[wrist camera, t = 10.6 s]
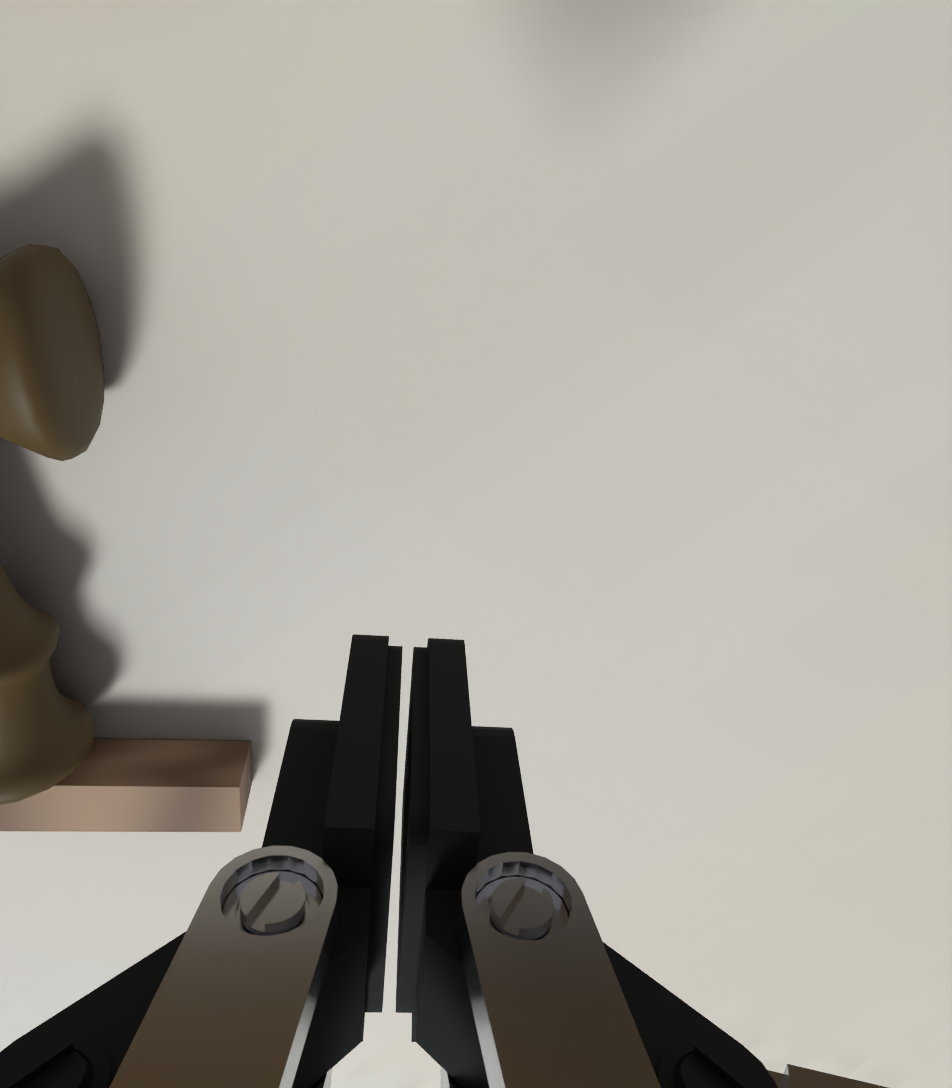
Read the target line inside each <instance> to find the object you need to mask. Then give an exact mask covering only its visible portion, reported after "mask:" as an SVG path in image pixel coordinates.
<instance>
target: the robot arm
mask: <svg viewBox="0 0 952 1088" xmlns="http://www.w3.org/2000/svg"><path fill="white" fill-rule="evenodd" d="M388 642H389V636H373V635H353V636H352V642H351V649H350V656H349V662H348V669H347V675H346V682H345V689H344V695H343V702H342V709H341V715H340V721H328V720H304V719H294V720H293V721H292V724H291V727H290V731H289V736H288V740H287V744H286V748H285V752H284V757H283V761H282V765H281V769H280V774H279V778H278V782H277V786H276V791H275V795H274V799H273V803H272V807H271V812H270V816H269V820H268V824H267V829H266V833H265V837H264V841H263V846H262V848H259V849H254V850H251V851H249V852H247V853H245V854H243V855H240V856H238V857H236V858H234V859H233V860H232V861H231V862H229V863H228V864H227V865H226V866H224V867H223V868H222V869H220V871H219V872H218V874H217V875H216V876H215V878H214V879H213V881H212V882H211V883H210V885H209V887H208V889H207V891H206V893H205V895H204V897H203V899H202V901H201V903H200V905H199V907H198V909H197V911H196V913H195V915H194V917H193V919H192V922H191V924H190V926H189V928H188V930H187V931H186V932H185V933H183V934H181V935H180V936H178V937H177V938H175V939H174V940H172V941H170V942H169V943H167V944H166V945H164V946H163V947H161V948H159V949H158V950H156V951H155V952H153V953H152V954H150V955H149V956H147V957H145V958H144V959H142V960H141V961H139V962H138V963H136V964H134V965H133V966H131V967H130V968H128V969H127V970H125V971H123V972H122V973H120V974H119V975H117V976H116V977H114V978H113V979H111V980H109V981H108V982H106V983H105V984H103V985H102V986H100V987H98V988H97V989H95V990H94V991H92V992H91V993H89V994H87V995H86V996H84V997H83V998H81V999H80V1000H78V1001H77V1002H75V1003H73V1004H72V1005H70V1006H69V1007H67V1008H66V1009H64V1010H62V1011H61V1012H59V1013H58V1014H56V1015H55V1016H53V1017H52V1018H50V1019H48V1020H47V1021H45V1022H44V1023H42V1024H41V1025H39V1026H37V1027H36V1028H34V1029H33V1030H31V1031H30V1032H28V1033H26V1034H25V1035H23V1036H22V1037H20V1038H19V1039H17V1040H16V1041H14V1042H13V1043H11V1044H10V1045H9V1046H8V1047H6V1048H5V1049H4V1050H3V1051H1V1052H0V1088H330V1085H331V1074H332V1067H333V1066H334V1065H336V1064H337V1063H338V1062H339V1061H340V1060H341V1059H342V1058H344V1057H345V1056H346V1055H347V1054H348V1053H349V1052H350V1051H351V1050H353V1049H354V1048H355V1047H356V1046H357V1045H358V1044H359V1043H360V1042H362V1041H363V1031H364V1017H365V1012H382V1005H383V990H384V975H385V960H386V945H387V930H388V915H389V900H390V885H391V871H392V856H393V840H394V822H395V801H396V779H397V756H398V734H399V711H400V689H401V666H402V646H388ZM396 1012H403V1013H412V1042H417V1043H418V1044H419V1045H420V1046H421V1047H422V1048H423V1049H424V1050H425V1051H426V1052H427V1053H428V1054H429V1055H430V1056H431V1057H432V1058H433V1059H434V1060H435V1061H436V1062H437V1063H438V1064H439V1065H440V1066H441V1088H888V1087H883V1086H879V1085H875V1084H871V1083H866V1082H862V1081H858V1080H854V1079H849V1078H845V1077H841V1076H836V1075H832V1074H828V1073H824V1072H819V1071H815V1070H811V1069H807V1068H802V1067H798V1066H794V1065H790V1064H787V1066H786V1068H785V1071H784V1074H781V1073H777V1072H773V1071H769V1070H767V1069H766V1068H765V1067H764V1065H763V1064H762V1062H760V1061H759V1060H758V1059H757V1058H756V1057H755V1056H754V1055H753V1054H752V1053H751V1052H750V1051H749V1050H747V1049H746V1048H745V1047H744V1046H743V1045H742V1044H740V1043H739V1042H738V1041H736V1040H735V1039H734V1038H732V1037H731V1036H729V1035H728V1034H727V1033H725V1032H724V1031H723V1030H721V1029H720V1028H719V1027H717V1026H716V1025H715V1024H713V1023H712V1022H711V1021H709V1020H708V1019H706V1018H705V1017H704V1016H702V1015H701V1014H700V1013H698V1012H697V1011H696V1010H694V1009H693V1008H692V1007H690V1006H689V1005H687V1004H686V1003H685V1002H683V1001H682V1000H681V999H679V998H678V997H677V996H675V995H674V994H673V993H671V992H670V991H668V990H667V989H666V988H664V987H663V986H662V985H660V984H659V983H658V982H656V981H655V980H654V979H652V978H651V977H650V976H648V975H647V974H645V973H644V972H643V971H641V970H640V969H639V968H637V967H636V966H635V965H633V964H632V963H631V962H629V961H628V960H626V959H625V958H624V957H622V956H621V955H620V954H618V953H617V952H616V951H614V950H613V949H612V948H610V947H609V946H607V945H606V944H605V943H603V942H602V940H601V937H600V935H599V932H598V930H597V927H596V925H595V922H594V920H593V917H592V915H591V912H590V910H589V907H588V905H587V902H586V900H585V897H584V895H583V892H582V891H581V889H580V887H579V886H578V884H577V882H576V881H575V879H574V878H573V877H572V876H571V875H570V874H569V873H568V872H567V871H566V870H564V869H563V868H562V867H561V866H560V865H558V864H556V863H554V862H552V861H550V860H549V859H547V858H545V857H542V856H538V855H534V854H533V849H532V842H531V836H530V830H529V823H528V817H527V811H526V805H525V798H524V792H523V786H522V779H521V773H520V767H519V760H518V754H517V748H516V741H515V736H514V732H513V729H512V728H501V727H477V726H471V714H470V702H469V690H468V678H467V667H466V655H465V644H464V640H453V639H433V638H428V645H427V648H423V647H414V650H413V663H412V677H411V691H410V705H409V719H408V733H407V747H406V761H405V775H404V790H403V808H402V837H401V868H400V898H399V928H398V958H397V989H396Z"/></svg>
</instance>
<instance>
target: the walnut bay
mask: <svg viewBox="0 0 952 1088" xmlns="http://www.w3.org/2000/svg"><path fill="white" fill-rule="evenodd" d="M251 785H252V775H251V741H216V740H154V739H93V744H92V747H91V749H90V750H89V752H88V753H87V754H86V756H85V757H84V759H83V760H82V762H81V763H80V764H79V766H78V767H77V768H76V769H75V770H74V771H73V772H72V773H70V774H69V775H68V776H66V777H65V778H63V779H62V780H61V781H59V782H58V783H57V784H55V785H54V786H53V787H51V788H50V789H48V790H46V791H43V792H41V793H38V794H36V795H34V796H31V797H29V798H26V799H24V800H21V801H19V802H15V803H9V804H4V805H0V831H118V832H241V829H242V825H243V820H244V816H245V811H246V807H247V802H248V798H249V793H250V789H251Z"/></svg>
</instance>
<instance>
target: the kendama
mask: <svg viewBox="0 0 952 1088" xmlns="http://www.w3.org/2000/svg"><path fill="white" fill-rule="evenodd" d="M103 403H104V367H103V359H102V352H101V344H100V337H99V331H98V328H97V324H96V320H95V316H94V312H93V309H92V305H91V301H90V299H89V296H88V294H87V292H86V289H85V287H84V285H83V282H82V280H81V277H80V275H79V273H78V272H77V270H76V269H75V267H74V266H73V265H72V264H71V262H70V261H69V260H68V259H67V258H66V257H65V256H64V255H63V254H62V253H61V251H60V250H59V249H57V248H52V247H47V246H39V245H28V246H25V247H22V248H19V249H16V250H14V251H13V252H11V253H9V254H7V255H6V256H4V257H2V258H1V259H0V437H1V438H3V439H5V440H8V441H10V442H12V443H14V444H17V445H19V446H21V447H24V448H26V449H29V450H31V451H34V452H36V453H38V454H41V455H43V456H46V457H48V458H52V459H56V460H60V461H64V460H68V459H72V458H74V457H76V456H78V455H79V454H81V453H83V452H85V451H86V450H87V448H88V446H89V445H90V443H91V441H92V439H93V437H94V435H95V433H96V431H97V429H98V427H99V425H100V420H101V414H102V409H103ZM59 634H60V626H59V625H58V624H57V622H56V621H55V620H54V618H53V617H52V616H51V615H50V614H48V613H45V612H42V611H39V610H37V609H35V608H33V607H31V606H30V605H29V604H28V603H26V602H25V601H24V600H23V599H22V597H21V596H20V595H19V593H18V592H17V591H16V589H15V588H14V586H13V585H12V583H11V581H10V580H9V578H8V576H7V574H6V572H5V570H4V568H3V566H2V565H1V563H0V805H4V804H9V803H15V802H19V801H21V800H24V799H26V798H29V797H31V796H34V795H36V794H38V793H41V792H43V791H46V790H48V789H50V788H51V787H53V786H54V785H55V784H57V783H58V782H59V781H61V780H62V779H63V778H65V777H66V776H68V775H69V774H70V773H72V772H73V771H74V770H75V769H76V768H77V767H78V766H79V764H80V763H81V762H82V760H83V759H84V757H85V756H86V754H87V753H88V752H89V750H90V749H91V747H92V744H93V738H94V732H95V722H94V720H93V718H92V717H91V715H90V713H89V712H88V710H87V708H86V707H85V706H84V705H83V704H82V703H79V702H77V701H74V700H71V699H68V698H66V697H64V696H63V695H62V694H60V693H59V691H58V690H57V688H56V686H55V683H54V680H53V676H52V673H51V667H50V657H51V655H52V654H53V653H54V651H55V650H56V648H57V644H58V639H59Z"/></svg>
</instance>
